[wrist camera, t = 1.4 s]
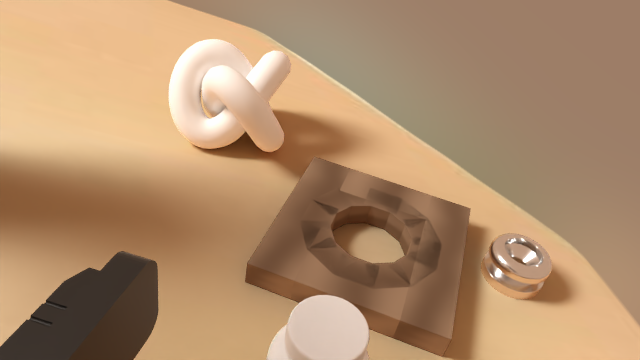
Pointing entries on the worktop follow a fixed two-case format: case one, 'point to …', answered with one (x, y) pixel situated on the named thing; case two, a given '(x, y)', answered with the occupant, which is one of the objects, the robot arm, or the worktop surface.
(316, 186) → the socket board
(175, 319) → the worktop surface
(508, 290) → the metal grooved wheel
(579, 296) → the worktop surface
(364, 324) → the supplement bottle
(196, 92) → the white knot
